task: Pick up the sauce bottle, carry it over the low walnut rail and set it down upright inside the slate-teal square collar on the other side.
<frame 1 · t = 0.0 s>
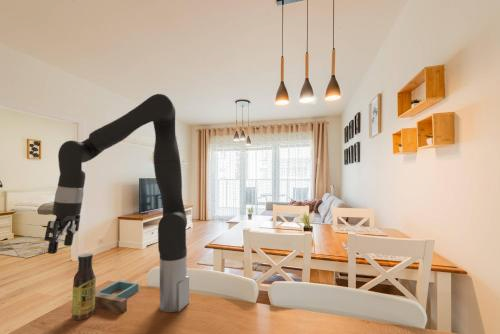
hand: (60, 249, 78), 22 cm above the table, tool pointing down, fingers open, 8 cm apart
square collar: (117, 296, 90), on the table
walnut rail: (103, 307, 83), on the table
sauce bottle: (83, 316, 78), on the table
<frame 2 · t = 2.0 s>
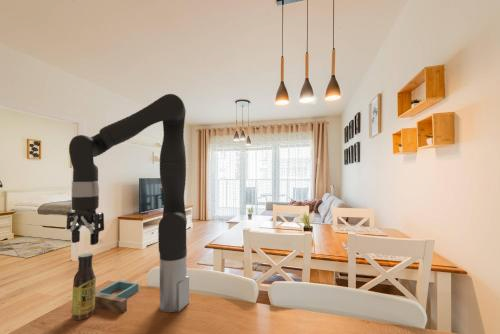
hand: (84, 243, 79), 24 cm above the table, tool pointing down, fingers open, 8 cm apart
nothing on the table moved.
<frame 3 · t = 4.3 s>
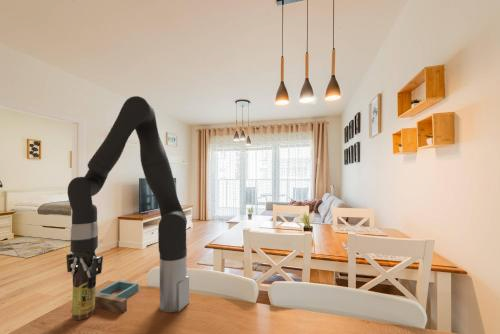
hand: (84, 286, 78), 10 cm above the table, tool pointing down, fingers closed on sauce bottle, 6 cm apart
sauce bottle: (83, 316, 78), on the table, touching gripper
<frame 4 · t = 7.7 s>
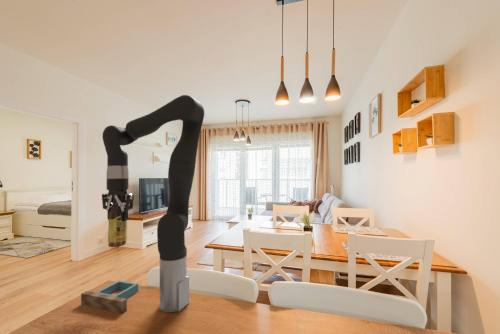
hand: (117, 220, 91), 29 cm above the table, tool pointing down, fingers closed on sauce bottle, 6 cm apart
sauce bottle: (117, 245, 91), point 19 cm above the table, touching gripper
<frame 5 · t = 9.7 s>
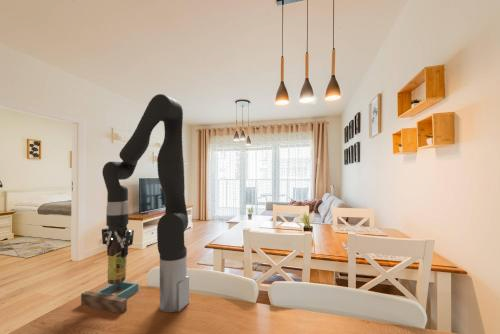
hand: (117, 256, 91), 15 cm above the table, tool pointing down, fingers closed on sauce bottle, 6 cm apart
sauce bottle: (117, 281, 90), point 5 cm above the table, touching gripper
when the fingers open (11 cm above the table, at t = 11.5 s): sauce bottle drops 1 cm, resting in square collar.
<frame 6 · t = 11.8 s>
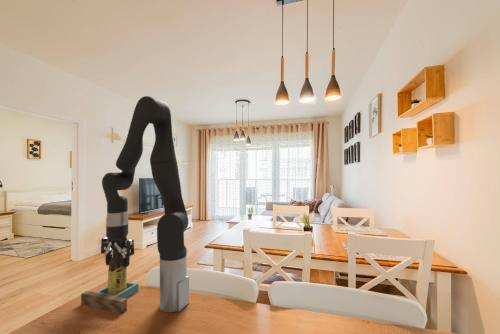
hand: (117, 265, 91), 12 cm above the table, tool pointing down, fingers open, 8 cm apart
sauce bottle: (117, 296, 90), resting in square collar
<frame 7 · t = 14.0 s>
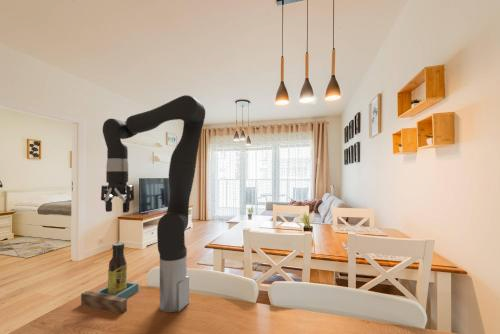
hand: (117, 211, 92), 32 cm above the table, tool pointing down, fingers open, 8 cm apart
nothing on the table moved.
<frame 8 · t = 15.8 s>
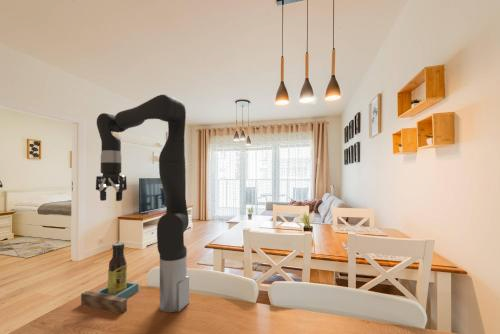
hand: (110, 200, 98), 36 cm above the table, tool pointing down, fingers open, 8 cm apart
nothing on the table moved.
at the end: sauce bottle 0.2 cm off-centre on the square collar, point 0.0 cm above the square collar's base; sauce bottle tilted 0°; the gripper is holding nothing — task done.
